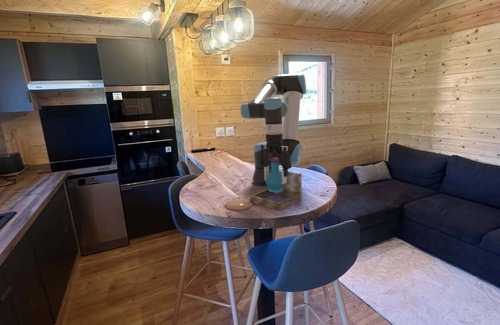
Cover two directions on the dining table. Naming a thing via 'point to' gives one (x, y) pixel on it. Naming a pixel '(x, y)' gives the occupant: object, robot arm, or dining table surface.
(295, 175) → the frame
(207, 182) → the dining table surface
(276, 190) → the perfume bottle
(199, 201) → the dining table surface
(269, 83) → the robot arm
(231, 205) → the saucer
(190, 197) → the dining table surface
